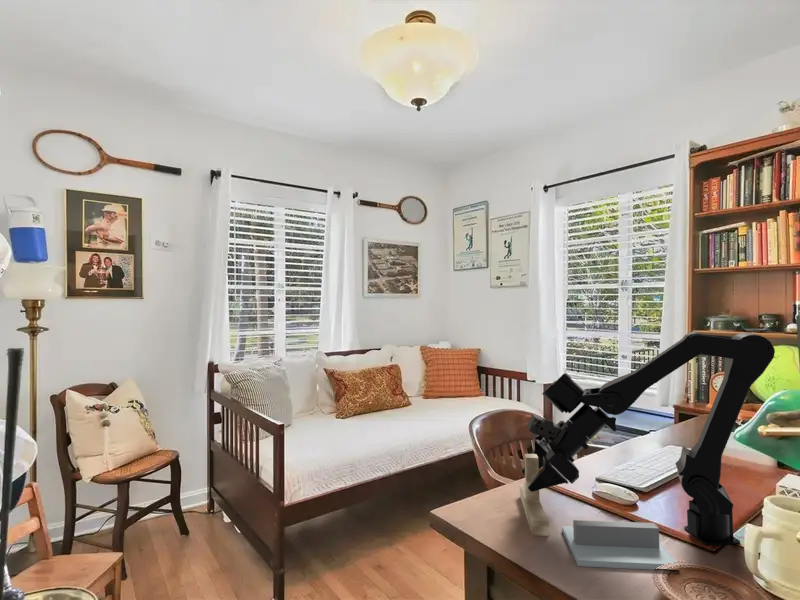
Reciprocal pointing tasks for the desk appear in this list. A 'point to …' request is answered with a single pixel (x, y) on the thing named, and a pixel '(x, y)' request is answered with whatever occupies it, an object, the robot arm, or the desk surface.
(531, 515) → the t bar
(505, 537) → the desk surface
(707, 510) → the robot arm
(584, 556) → the stand
